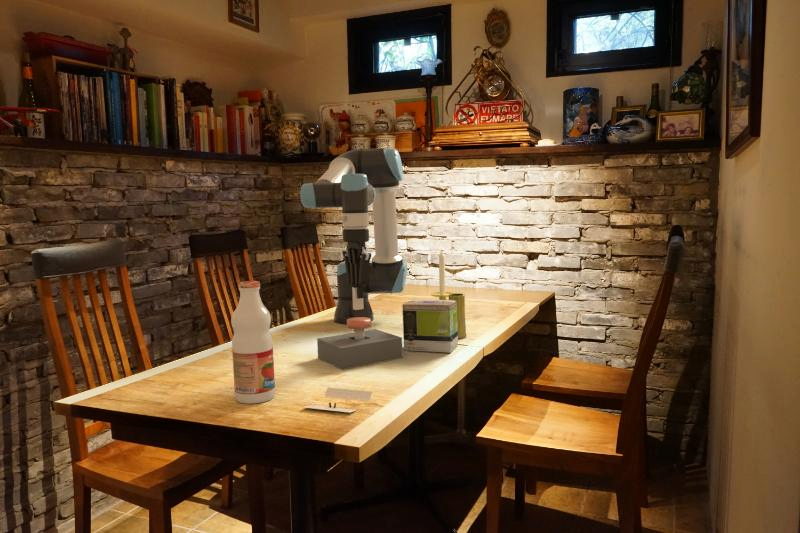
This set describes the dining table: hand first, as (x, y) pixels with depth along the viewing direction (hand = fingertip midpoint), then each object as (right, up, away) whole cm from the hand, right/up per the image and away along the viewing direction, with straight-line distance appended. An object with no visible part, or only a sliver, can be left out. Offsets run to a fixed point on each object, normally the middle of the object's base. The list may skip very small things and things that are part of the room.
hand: (358, 309), depth 179 cm
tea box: (+22, -13, +11) cm, 28 cm away
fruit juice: (-22, -19, -32) cm, 44 cm away
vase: (+31, -11, +26) cm, 42 cm away
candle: (+28, -8, +55) cm, 62 cm away
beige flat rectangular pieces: (-2, -20, -38) cm, 43 cm away
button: (0, -11, +2) cm, 11 cm away
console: (0, -15, +2) cm, 15 cm away
